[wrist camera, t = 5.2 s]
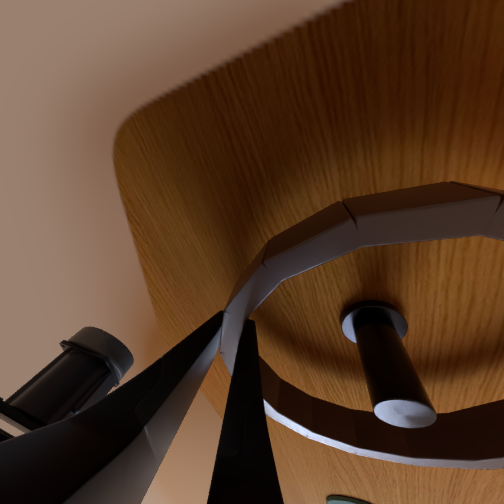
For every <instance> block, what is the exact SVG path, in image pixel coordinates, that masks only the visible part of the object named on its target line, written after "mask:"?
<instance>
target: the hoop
mask: <svg viewBox="0 0 504 504" xmlns="http://www.w3.org/2000/svg"><path fill="white" fill-rule="evenodd" d="M470 236H483V237H488V238H493V239H498V240H502V241H504V190H499V189H493V188H488V187H482V186H476V185H471V184H465V183H460V182H454V181H450V182H440V183H434V184H429V185H423V186H417V187H411V188H405V189H399V190H394V191H388V192H382V193H376V194H370V195H365V196H359V197H353V198H347V199H344V200H343V201H342V202H341V201H337V202H335V203H334V204H332V205H330V206H328V207H326V208H325V209H323V210H321V211H319V212H317V213H316V214H314V215H312V216H310V217H308V218H307V219H305V220H303V221H301V222H299V223H298V224H296V225H294V226H292V227H290V228H289V229H287V230H285V231H283V232H281V233H280V234H278V235H276V236H274V237H272V238H271V240H268V242H267V243H266V244H265V246H264V247H263V248H262V250H261V251H260V252H259V253H258V255H257V256H256V257H255V259H254V260H253V261H252V263H251V264H250V265H249V267H248V268H247V269H246V271H245V272H244V273H243V274H242V276H241V277H240V278H239V280H238V281H237V283H236V285H235V287H234V289H233V291H232V294H231V296H230V298H229V300H228V302H227V304H226V306H225V309H224V311H223V320H222V330H221V340H220V349H219V351H220V354H221V356H222V359H223V361H224V363H225V365H226V367H227V369H228V371H229V373H230V375H231V378H232V373H233V368H234V363H235V357H236V352H237V347H238V342H239V339H240V336H241V333H242V331H243V330H244V327H245V324H246V321H247V319H249V316H250V314H251V313H252V312H253V311H254V310H255V309H256V308H257V307H258V306H259V305H260V304H261V303H262V302H263V301H264V300H265V299H266V298H267V296H268V295H269V294H270V293H271V292H272V291H273V290H274V289H275V288H276V287H277V286H278V285H279V284H280V283H281V282H282V281H283V280H286V279H288V278H291V277H293V276H295V275H298V274H300V273H302V272H305V271H307V270H309V269H312V268H314V267H317V266H319V265H321V264H324V263H326V262H328V261H331V260H333V259H335V258H338V257H340V256H343V255H345V254H347V253H350V252H352V251H354V250H357V249H359V248H361V247H370V246H380V245H390V244H400V243H410V242H420V241H430V240H440V239H450V238H460V237H470ZM259 362H260V371H261V380H262V390H263V398H264V407H265V414H266V415H268V416H269V417H271V418H273V419H275V420H276V421H278V422H280V423H282V424H284V425H285V426H287V427H289V428H291V429H292V430H294V431H296V432H298V433H300V434H301V435H303V436H306V437H307V438H310V439H313V440H316V441H318V442H321V443H324V444H327V445H330V446H333V447H336V448H338V449H341V450H344V451H347V452H350V453H353V454H354V453H355V454H357V455H362V456H367V457H372V458H377V459H382V460H387V461H393V462H398V463H403V464H408V465H414V464H415V465H416V466H430V467H447V468H465V469H482V470H483V469H484V468H485V469H487V470H491V469H502V468H504V399H503V400H499V401H495V402H491V403H487V404H483V405H479V406H474V407H470V408H466V409H462V410H458V411H454V412H450V413H437V419H436V421H435V422H434V423H433V424H431V425H429V426H426V427H421V428H405V427H399V426H395V425H391V424H389V423H386V422H384V421H382V420H381V419H379V418H378V417H377V416H376V415H375V413H374V412H369V411H362V410H354V409H349V408H346V407H343V406H340V405H337V404H334V403H331V402H328V401H324V400H321V399H318V398H315V397H312V396H310V395H308V394H307V393H305V392H303V391H301V390H300V389H298V388H296V387H295V386H293V385H291V384H290V383H288V382H286V381H284V380H283V379H281V378H280V377H279V376H278V375H277V374H276V373H275V372H274V371H273V370H272V369H271V367H270V366H269V365H268V364H267V363H266V362H265V361H264V360H263V359H262V358H261V357H260V356H259Z"/></svg>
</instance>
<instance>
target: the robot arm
mask: <svg viewBox="0 0 504 504" xmlns="http://www.w3.org/2000/svg"><path fill="white" fill-rule="evenodd" d="M222 320H223V310H221V311H219V312H218V313H216V314H215V315H214V316H213V317H211V318H210V319H209V320H208V321H206V322H205V323H204V324H202V325H201V326H200V327H199V328H197V329H196V330H195V331H194V332H192V333H191V334H190V335H189V336H187V337H186V338H185V339H183V340H182V341H181V342H180V343H178V344H177V345H176V346H175V347H173V348H172V349H171V350H170V351H168V352H167V353H166V354H164V355H163V356H162V358H159V359H158V360H157V361H155V362H154V363H153V364H152V365H150V366H149V367H148V368H146V369H145V370H144V371H142V372H141V373H140V374H138V375H137V376H135V377H134V378H132V379H131V380H129V381H128V382H127V383H125V384H123V385H122V386H120V387H119V388H117V389H116V390H115V391H113V392H111V393H110V394H108V392H109V391H110V390H111V389H112V387H113V386H114V387H117V386H118V385H119V381H118V378H117V376H116V374H115V371H114V369H113V366H112V364H111V362H110V359H109V358H108V357H107V356H105V355H102V354H100V353H97V352H94V351H92V350H89V349H87V348H84V347H81V346H79V345H76V344H74V343H71V342H68V341H66V340H63V341H62V342H61V343H59V344H60V346H61V347H62V349H63V350H64V352H63V353H61V354H60V355H59V356H58V357H57V358H55V359H54V360H53V361H52V362H51V363H49V364H48V365H47V366H46V367H45V368H44V369H42V370H41V371H40V372H39V373H38V374H36V375H35V376H34V377H33V378H32V379H31V380H30V381H28V382H27V383H26V384H25V385H23V386H22V387H21V388H20V389H19V390H17V392H15V393H14V394H13V395H12V396H10V397H9V398H8V399H7V400H6V401H3V398H1V397H0V419H2V420H4V421H5V422H7V423H9V424H10V425H12V426H14V427H16V428H17V429H19V430H21V431H22V432H24V433H25V434H22V435H20V436H17V437H14V436H13V435H11V434H9V433H7V432H6V431H4V430H2V429H0V504H141V502H142V500H143V498H144V496H145V494H146V492H147V490H148V488H149V486H150V484H151V482H152V480H153V478H154V476H155V474H156V472H157V470H158V468H159V466H160V464H161V462H162V460H163V459H164V457H165V455H166V453H167V451H168V449H169V447H170V445H171V443H172V440H173V439H174V437H175V435H176V433H177V431H178V429H179V427H180V425H181V423H182V421H183V419H184V417H185V415H186V413H187V411H188V409H189V407H190V405H191V403H192V401H193V399H194V397H195V395H196V393H197V391H198V389H199V387H200V385H201V384H202V382H203V380H204V378H205V376H206V374H207V372H208V370H209V368H210V366H211V364H212V362H213V360H214V358H215V355H216V353H217V350H218V348H219V345H220V340H221V330H222ZM107 394H108V395H107ZM207 504H284V501H283V497H282V493H281V489H280V485H279V480H278V475H277V471H276V466H275V461H274V457H273V452H272V447H271V443H270V438H269V432H268V427H267V422H266V414H265V407H264V398H263V390H262V380H261V371H260V362H259V352H258V343H257V334H256V325H255V321H254V320H251V319H247V321H246V324H245V327H244V330H243V331H242V333H241V336H240V339H239V342H238V347H237V352H236V357H235V363H234V368H233V373H232V378H231V383H230V388H229V393H228V398H227V404H226V409H225V414H224V419H223V424H222V430H221V435H220V439H219V445H218V450H217V455H216V460H215V465H214V470H213V475H212V480H211V486H210V490H209V496H208V500H207Z"/></svg>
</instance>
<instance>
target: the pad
mask: <svg viewBox="0 0 504 504" xmlns="http://www.w3.org/2000/svg"><path fill="white" fill-rule="evenodd" d="M326 500H327V504H369V503H366V502H363V501H360V500H357V499H353V498H349V497H343V496H329V497H327V499H326Z"/></svg>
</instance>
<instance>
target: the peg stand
mask: <svg viewBox="0 0 504 504" xmlns="http://www.w3.org/2000/svg"><path fill="white" fill-rule="evenodd" d="M340 323H341V328H342V331H343V333H344V335H345V336H346V337H347V338H348V339H349V340H351V341H352V342H354V343H356V344H357V347H358V351H359V355H360V359H361V363H362V367H363V371H364V376H365V380H366V384H367V388H368V392H369V396H370V400H371V404H372V408H373V412H374V413H375V415H376V416H377V417H378V418H379V419H381V420H382V421H384V422H386V423H389V424H391V425H395V426H399V427H405V428H421V427H426V426H429V425H431V424H433V423H434V422H435V421H436V419H437V414H436V412H435V410H434V407H433V405H432V403H431V401H430V399H429V397H428V395H427V393H426V391H425V389H424V387H423V384H422V382H421V380H420V378H419V376H418V374H417V372H416V370H415V368H414V366H413V364H412V362H411V359H410V357H409V355H408V353H407V351H406V349H405V347H404V345H403V343H402V341H401V339H402V338H403V337H404V336H405V334H406V332H407V329H408V325H407V321H406V319H405V317H404V316H403V314H402V312H401V311H400V310H399V309H398V308H396V307H395V306H393V305H391V304H389V303H386V302H383V301H377V300H367V301H361V302H358V303H355V304H353V305H351V306H349V307H348V308H346V309H345V311H344V312H343V313H342V315H341V319H340Z"/></svg>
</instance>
